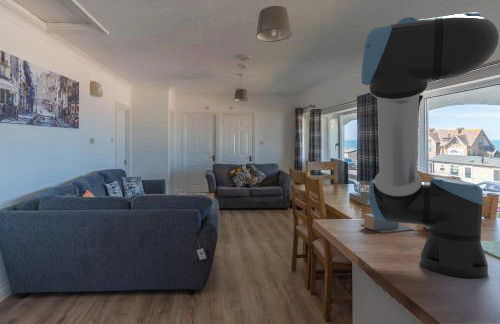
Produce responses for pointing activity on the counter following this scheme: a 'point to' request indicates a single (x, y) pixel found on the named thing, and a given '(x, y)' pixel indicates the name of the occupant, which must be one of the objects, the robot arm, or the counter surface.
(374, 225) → the slate block
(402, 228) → the mat
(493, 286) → the counter surface
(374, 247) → the counter surface
